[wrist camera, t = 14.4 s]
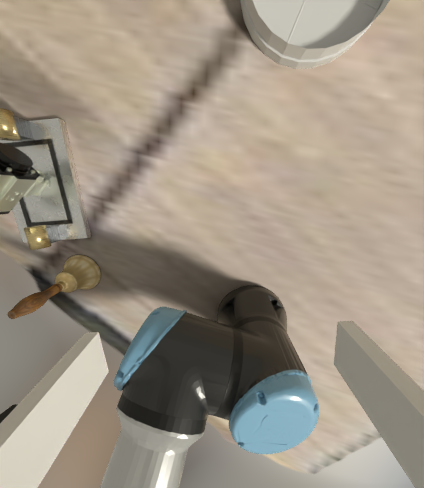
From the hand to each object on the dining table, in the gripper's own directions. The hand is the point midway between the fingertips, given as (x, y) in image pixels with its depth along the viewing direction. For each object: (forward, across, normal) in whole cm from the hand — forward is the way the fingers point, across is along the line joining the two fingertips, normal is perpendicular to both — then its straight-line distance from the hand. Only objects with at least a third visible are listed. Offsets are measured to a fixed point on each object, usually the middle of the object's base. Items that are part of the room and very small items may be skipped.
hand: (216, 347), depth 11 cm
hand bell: (+32, +31, +7) cm, 45 cm away
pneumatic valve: (+30, +34, -12) cm, 47 cm away
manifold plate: (+32, +34, -12) cm, 48 cm away
